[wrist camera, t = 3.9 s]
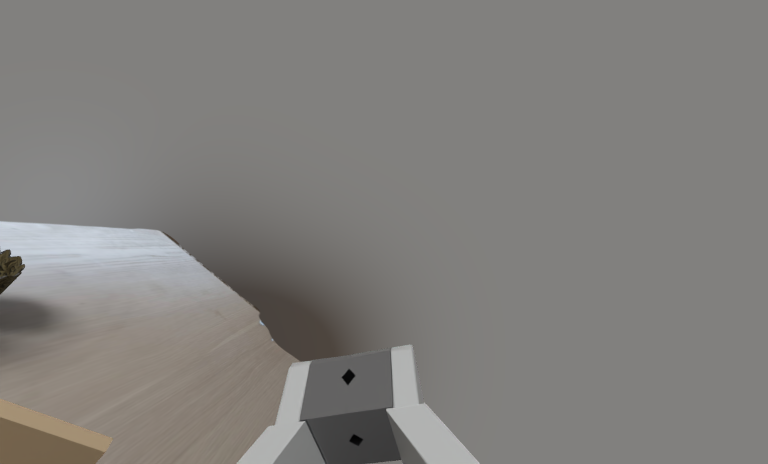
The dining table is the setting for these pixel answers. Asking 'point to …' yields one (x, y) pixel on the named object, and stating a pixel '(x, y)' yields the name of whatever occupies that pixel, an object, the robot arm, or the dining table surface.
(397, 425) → the robot arm
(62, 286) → the dining table surface
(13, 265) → the cup
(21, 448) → the lid
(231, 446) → the dining table surface
